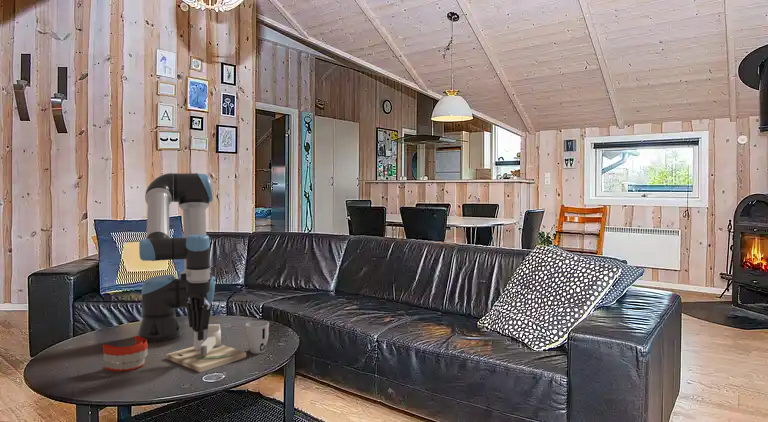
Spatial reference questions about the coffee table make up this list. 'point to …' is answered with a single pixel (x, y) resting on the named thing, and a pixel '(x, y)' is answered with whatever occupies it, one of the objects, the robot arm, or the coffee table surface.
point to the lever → (211, 338)
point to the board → (206, 357)
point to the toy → (125, 356)
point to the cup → (257, 336)
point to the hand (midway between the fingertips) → (198, 348)
